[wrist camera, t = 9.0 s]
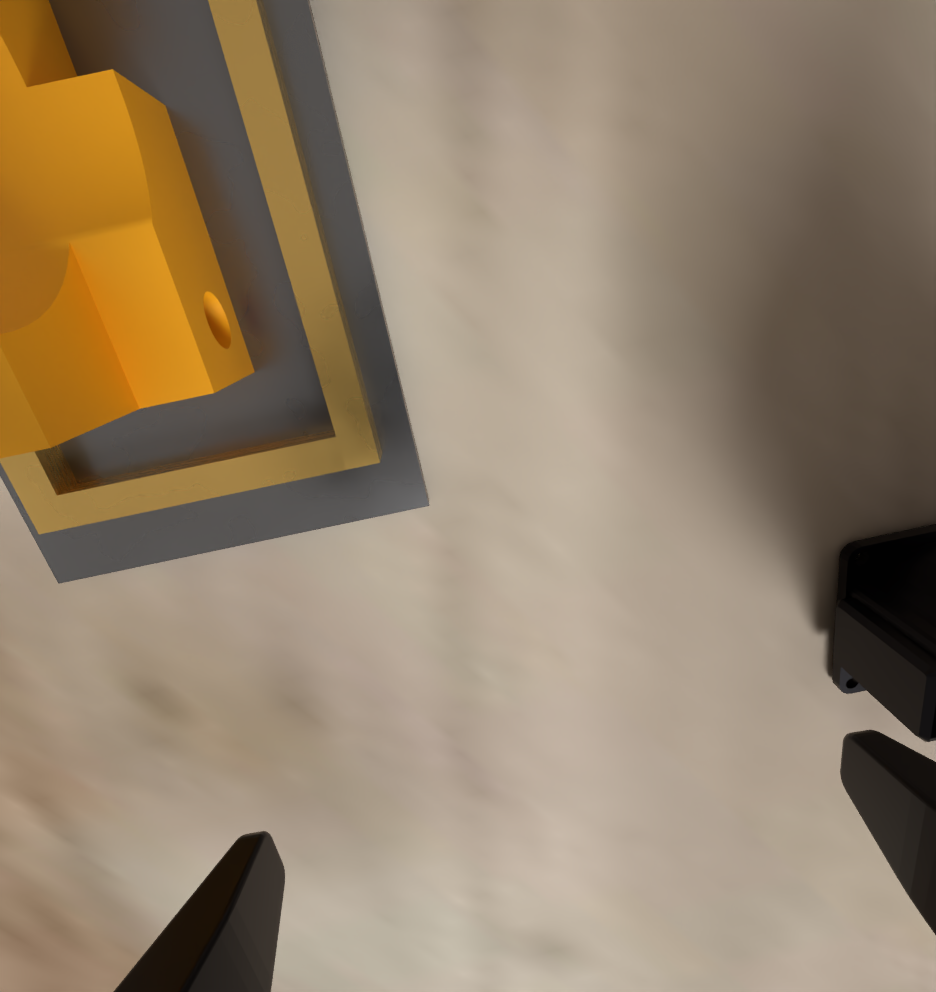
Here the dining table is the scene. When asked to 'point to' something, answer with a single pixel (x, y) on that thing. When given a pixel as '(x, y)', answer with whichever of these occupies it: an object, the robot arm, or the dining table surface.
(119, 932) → the dining table surface
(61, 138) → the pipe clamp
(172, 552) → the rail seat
